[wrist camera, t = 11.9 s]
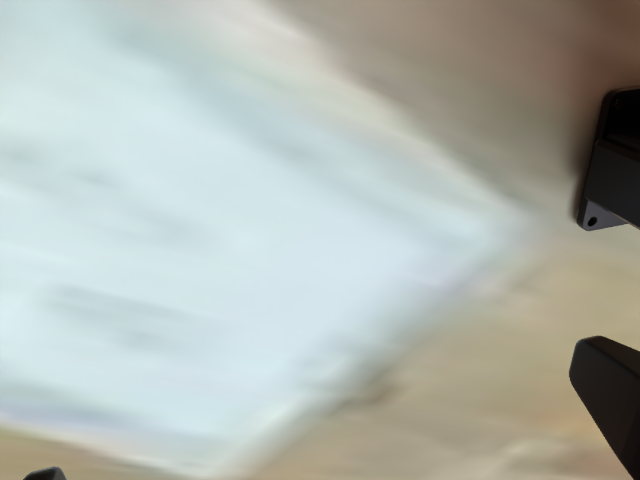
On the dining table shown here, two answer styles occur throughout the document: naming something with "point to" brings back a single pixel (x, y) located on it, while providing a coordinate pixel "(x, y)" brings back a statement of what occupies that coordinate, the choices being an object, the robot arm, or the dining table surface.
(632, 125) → the robot arm
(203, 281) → the dining table surface
